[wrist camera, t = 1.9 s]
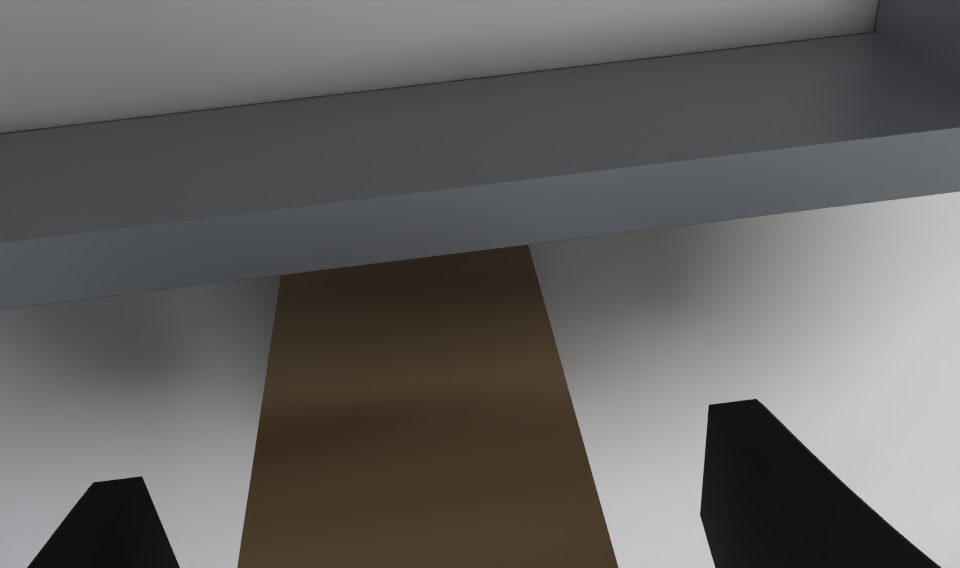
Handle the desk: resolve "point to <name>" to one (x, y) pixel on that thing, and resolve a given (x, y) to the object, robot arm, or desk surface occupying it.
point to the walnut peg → (420, 424)
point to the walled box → (482, 162)
